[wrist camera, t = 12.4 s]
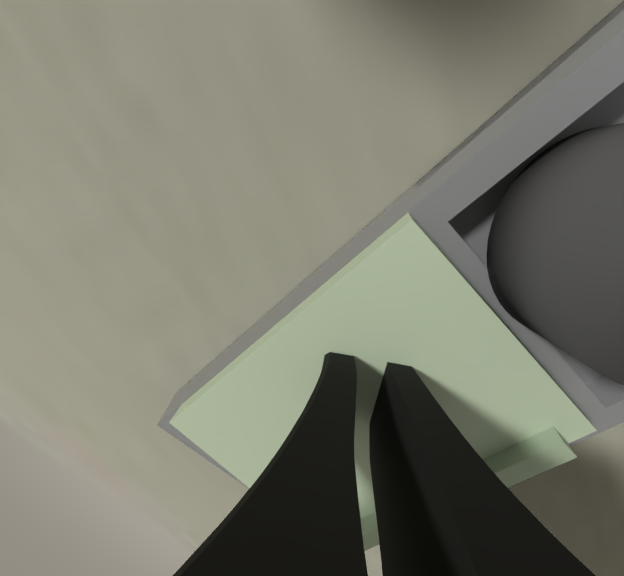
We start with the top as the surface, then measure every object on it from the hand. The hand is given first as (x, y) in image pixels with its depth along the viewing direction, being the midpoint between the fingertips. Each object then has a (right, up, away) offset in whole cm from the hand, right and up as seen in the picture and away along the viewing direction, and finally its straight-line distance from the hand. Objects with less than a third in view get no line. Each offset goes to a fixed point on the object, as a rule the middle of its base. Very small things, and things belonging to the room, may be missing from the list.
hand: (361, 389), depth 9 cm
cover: (0, -1, +1) cm, 1 cm away
